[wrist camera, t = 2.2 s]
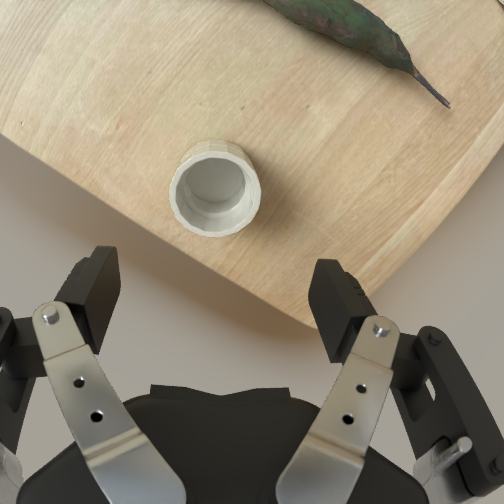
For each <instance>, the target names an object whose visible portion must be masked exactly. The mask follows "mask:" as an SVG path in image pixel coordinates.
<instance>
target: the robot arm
mask: <svg viewBox="0 0 504 504" xmlns="http://www.w3.org/2000/svg"><path fill="white" fill-rule="evenodd" d="M120 287H121V281H120V272H119V264H118V255H117V249H116V248H115V247H112V246H111V247H110V246H97V247H96V248H95V250H94V252H93V253H92V255H91V256H90V258H87V257H85V258H83V259H82V260H81V261H79V262H78V263H76V265H75V266H74V268H73V269H72V271H71V274H69V276H68V277H67V280H66V281H65V282H64V284H63V286H62V287H61V289H60V291H59V292H58V294H57V296H56V297H55V299H54V301H51V302H47V303H44V304H42V305H40V306H39V307H38V308H37V309H36V310H35V311H34V313H33V315H32V317H27V318H19V319H14V318H13V316H12V314H11V311H10V310H9V309H7V308H4V307H0V367H2V369H1V372H0V504H472V503H474V502H476V501H478V500H480V499H481V498H483V497H485V496H486V495H488V494H490V493H491V492H493V491H494V490H496V489H497V488H499V487H500V486H502V485H504V439H503V437H502V435H501V433H500V430H499V428H498V426H497V424H496V422H495V420H494V418H493V416H492V414H491V412H490V410H489V408H488V406H487V404H486V402H485V400H484V398H483V397H482V395H481V393H480V391H479V389H478V387H477V386H476V384H475V382H474V380H473V378H472V377H471V375H470V373H469V371H468V370H467V368H466V366H465V365H464V363H463V361H462V359H461V358H460V356H459V354H458V353H457V351H456V349H455V348H454V346H453V345H452V343H451V341H450V340H449V338H448V337H447V335H446V334H445V333H444V332H443V331H441V330H440V329H438V328H436V327H432V326H424V327H422V328H421V329H420V331H419V333H418V334H417V336H415V335H410V334H404V333H400V331H399V328H398V327H397V325H396V324H395V323H394V322H393V321H391V320H390V319H388V318H386V317H383V316H378V314H377V313H376V311H375V309H374V307H373V306H372V304H371V302H370V301H369V299H368V297H367V296H365V292H364V291H363V289H361V286H360V284H359V282H358V281H357V279H356V278H354V277H353V276H352V275H351V274H350V273H348V272H344V270H343V269H342V267H341V265H340V264H339V262H338V261H337V260H334V259H318V261H317V263H316V266H315V270H314V273H313V277H312V281H311V284H310V288H309V294H308V301H309V305H310V308H311V311H312V313H313V316H314V319H315V321H316V324H317V327H318V329H319V332H320V335H321V337H322V340H323V343H324V346H325V349H326V351H327V354H328V357H329V360H330V362H331V363H342V365H343V367H342V369H341V372H340V374H339V376H338V378H337V379H336V381H335V384H334V385H333V387H332V389H331V391H330V393H329V395H328V397H327V398H326V400H325V402H324V404H323V406H322V408H319V407H317V406H316V405H313V404H311V403H309V402H307V401H304V400H301V399H297V398H292V397H291V396H290V392H289V388H256V389H251V390H247V391H242V392H238V393H233V394H228V395H222V396H221V395H215V394H210V393H206V392H202V391H198V390H194V389H191V388H187V387H177V386H164V385H152V384H151V388H150V394H147V395H142V396H138V397H135V398H132V399H129V400H127V401H125V402H123V403H122V402H121V400H120V399H119V397H118V396H117V394H116V392H115V391H114V389H113V387H112V386H111V384H110V383H109V381H108V379H107V377H106V375H105V374H104V372H103V370H102V369H101V367H100V365H99V363H98V361H97V359H96V358H95V356H94V354H97V355H99V352H100V349H101V345H102V342H103V339H104V336H105V333H106V330H107V328H108V325H109V322H110V319H111V316H112V313H113V311H114V308H115V305H116V302H117V300H118V297H119V294H120ZM45 376H48V378H49V381H50V384H51V386H52V389H53V391H54V394H55V396H56V399H57V401H58V404H59V406H60V408H61V411H62V413H63V415H64V418H65V420H66V422H67V424H68V426H69V428H70V430H71V432H72V435H73V437H74V439H75V441H74V442H73V443H72V444H71V445H69V446H68V447H67V448H66V449H64V450H63V451H62V452H61V453H59V454H58V455H57V456H56V457H54V458H53V459H52V460H51V461H49V462H48V463H47V464H46V465H44V466H43V467H42V468H41V469H39V470H38V471H37V472H36V473H34V474H33V475H32V476H31V477H29V478H28V479H27V480H26V481H25V482H24V483H23V477H22V467H21V464H20V461H19V460H18V458H17V457H16V456H15V455H16V450H17V445H18V441H19V437H20V432H21V429H22V425H23V421H24V417H25V414H26V410H27V406H28V403H29V400H30V396H31V393H32V390H33V387H34V384H35V381H36V377H45ZM428 378H429V379H430V381H431V383H432V385H433V387H434V390H435V400H434V401H433V399H432V397H431V395H430V392H429V390H428V388H427V386H426V384H425V382H426V381H427V379H428ZM389 387H390V389H391V391H392V394H393V396H394V399H395V402H396V404H397V407H398V410H399V412H400V415H401V418H402V420H403V423H404V426H405V429H406V432H407V434H408V437H409V440H410V443H411V446H412V449H413V452H414V455H415V458H416V463H415V465H414V469H413V473H414V475H413V476H411V475H409V474H408V473H407V472H405V471H404V470H402V469H401V468H399V467H398V466H397V465H395V464H394V463H392V462H391V461H389V460H388V459H387V458H385V457H384V456H383V455H381V454H380V453H378V452H377V451H376V450H374V449H373V448H372V447H370V446H369V443H370V441H371V438H372V436H373V433H374V430H375V428H376V425H377V422H378V420H379V417H380V414H381V411H382V408H383V405H384V402H385V399H386V396H387V393H388V390H389Z"/></svg>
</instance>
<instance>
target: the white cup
mask: <svg viewBox="0 0 504 504" xmlns="http://www.w3.org/2000/svg"><path fill="white" fill-rule="evenodd" d="M261 193H262V192H261V187H260V183H259V180H258V176H257V174H256V171H255V169H254V167H253V165H252V162H251V160H250V158H249V157H248V156H247V155H246V153H245V152H244V151H243V150H242V149H241V148H240V147H239V146H237V145H235V144H233V143H231V142H229V141H226V140H215V139H210V140H207V141H204V142H201V143H198V144H195V145H194V146H193V147H192V148H191V149H190V150H188V151H187V152H186V153H185V154H184V156H183V158H182V160H181V162H180V164H179V166H178V168H177V170H176V172H175V175H174V177H173V179H172V181H171V183H170V195H169V202H170V205H171V207H172V210H173V212H174V215H175V217H176V219H177V220H178V221H179V222H180V223H181V224H182V225H183V226H184V227H185V228H186V229H188V230H189V231H192V232H194V233H196V234H199V235H201V236H204V237H224V236H227V235H231V234H234V233H237V232H238V231H240V230H241V229H242V228H244V227H245V226H246V225H248V224H249V223H250V222H251V221H252V219H253V217H254V216H255V214H256V212H257V211H258V209H259V206H260V199H261Z"/></svg>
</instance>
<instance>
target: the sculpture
mask: <svg viewBox="0 0 504 504" xmlns="http://www.w3.org/2000/svg"><path fill="white" fill-rule="evenodd" d="M264 1H265V2H266V3H268V4H270V5H271V6H273V8H274V9H275V10H277V11H278V12H280V13H281V14H283V15H285V17H286V18H287V19H289V20H291V21H293V22H294V23H296V24H299V25H304V26H306V27H308V28H309V29H310V30H312V31H315V32H320V33H323V34H325V35H328V36H330V37H331V38H333V39H334V40H336V41H337V42H339V43H341V44H344V45H346V46H348V47H352V48H358V49H362V50H365V51H366V52H368V53H369V54H371V55H372V56H373V57H375V58H376V59H377V60H378V61H379V62H381V63H383V64H384V65H385V66H386V67H389V68H394V69H398V70H401V71H404V72H407V73H409V74H410V75H412V76H413V77H414V78H415V79H416V80H418V81H419V82H420V83H421V84H422V85H423V86H425V87H426V89H427V90H428V91H429V92H430V93H431V94H432V95H434V96H435V98H436V99H438V100H439V101H440V102H441V103H442V104H443V105H444V106H446V107H447V108H449V109H450V106H449V105H450V103H449V102H448V101H447V100H446V99H445V98H444V97H443V96H441V95H440V94H439V93H438V92H437V91H436V90H435V89H433V88H432V86H431V85H430V84H429V83H428V82H427V81H426V79H425V78H424V77H423V76H422V75H421V74H420V72H419V71H418V70H417V69H416V68H415V66H414V65H413V63H412V61H411V57H410V54H409V52H408V51H407V49H406V48H405V46H404V44H403V43H402V41H401V39H400V37H399V35H398V34H397V33H395V32H394V31H392V29H390V28H389V27H388V26H387V25H385V23H384V22H383V21H382V20H381V19H380V18H379V17H377V16H375V15H374V14H373V13H372V12H370V11H369V10H368V9H366V8H365V7H364V6H362V5H361V4H359V3H357V2H355V1H354V0H264ZM448 104H449V105H448Z"/></svg>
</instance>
